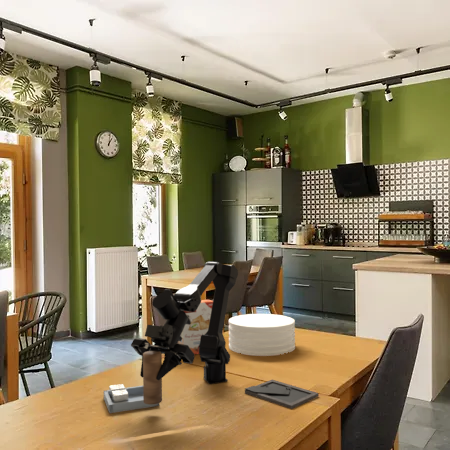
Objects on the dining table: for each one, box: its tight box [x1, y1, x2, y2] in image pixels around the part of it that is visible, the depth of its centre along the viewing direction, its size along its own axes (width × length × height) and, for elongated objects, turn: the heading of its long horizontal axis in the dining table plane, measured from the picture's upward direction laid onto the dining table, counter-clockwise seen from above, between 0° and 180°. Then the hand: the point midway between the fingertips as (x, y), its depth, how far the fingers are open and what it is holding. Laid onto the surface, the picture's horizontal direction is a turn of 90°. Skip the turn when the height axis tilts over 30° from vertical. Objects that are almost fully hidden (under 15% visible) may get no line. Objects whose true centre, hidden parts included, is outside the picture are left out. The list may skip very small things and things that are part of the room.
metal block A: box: [108, 383, 126, 401], centre depth 138 cm, size 4×4×4 cm
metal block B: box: [112, 389, 128, 403], centre depth 133 cm, size 4×4×4 cm
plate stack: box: [228, 313, 296, 357], centre depth 200 cm, size 28×28×12 cm
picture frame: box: [244, 379, 319, 410], centre depth 144 cm, size 13×2×18 cm
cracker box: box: [177, 299, 213, 355], centre depth 192 cm, size 14×6×21 cm, turn 117°
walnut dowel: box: [142, 351, 163, 405], centre depth 128 cm, size 5×5×13 cm
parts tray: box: [103, 385, 160, 414], centre depth 137 cm, size 14×12×3 cm
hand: (149, 378), depth 127 cm, fingers closed on walnut dowel, 5 cm apart
